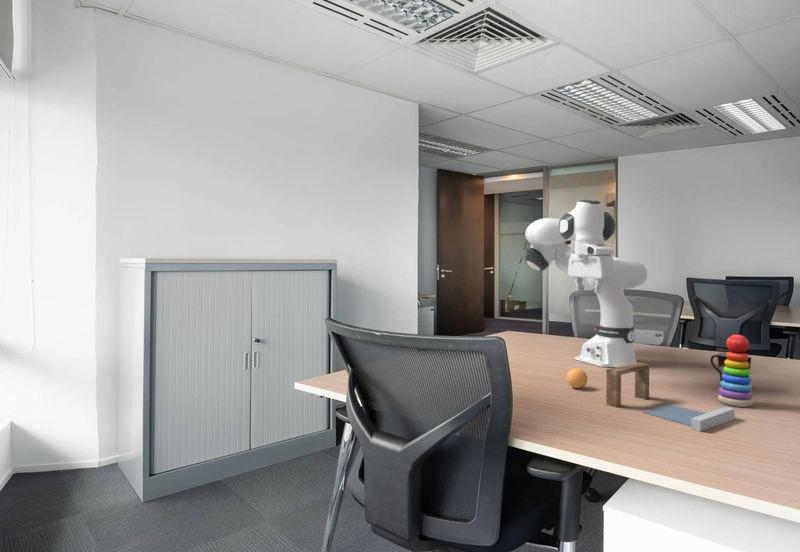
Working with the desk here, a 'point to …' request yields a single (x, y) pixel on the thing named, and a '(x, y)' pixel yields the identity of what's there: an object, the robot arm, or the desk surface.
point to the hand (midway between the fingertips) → (588, 292)
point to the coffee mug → (721, 360)
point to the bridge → (615, 382)
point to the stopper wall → (712, 419)
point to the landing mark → (674, 413)
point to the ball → (577, 378)
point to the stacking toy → (736, 374)
